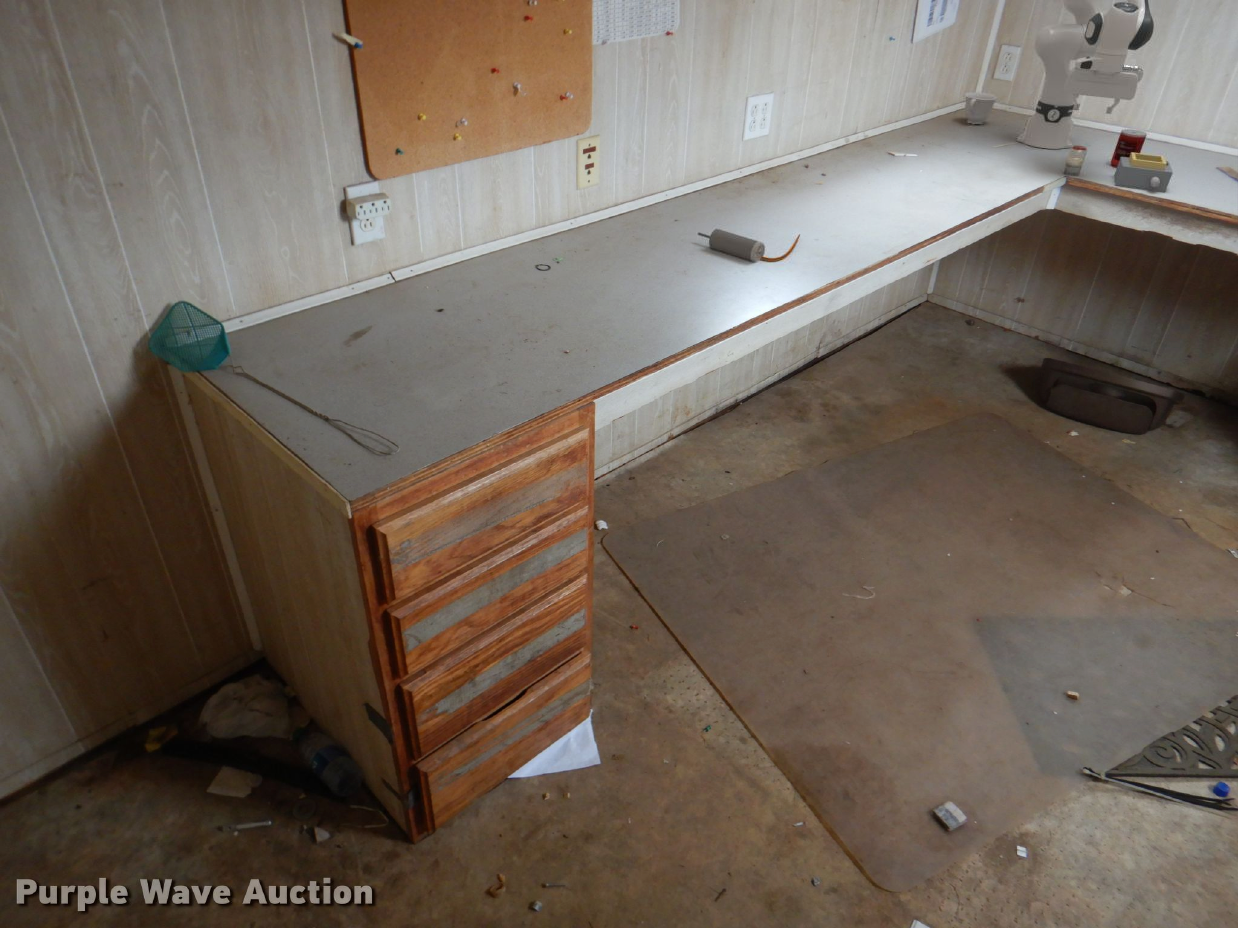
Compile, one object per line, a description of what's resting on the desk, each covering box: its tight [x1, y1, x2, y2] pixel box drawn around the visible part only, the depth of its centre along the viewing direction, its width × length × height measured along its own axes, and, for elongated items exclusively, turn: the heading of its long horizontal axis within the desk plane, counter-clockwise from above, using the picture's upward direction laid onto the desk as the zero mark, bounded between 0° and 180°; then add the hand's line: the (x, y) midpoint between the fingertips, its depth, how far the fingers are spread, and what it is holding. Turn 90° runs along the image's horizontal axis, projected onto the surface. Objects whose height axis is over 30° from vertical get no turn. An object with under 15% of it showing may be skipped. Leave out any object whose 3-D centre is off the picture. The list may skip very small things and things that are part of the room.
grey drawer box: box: [1113, 152, 1174, 193], centre depth 269 cm, size 15×14×8 cm
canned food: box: [1110, 128, 1147, 169], centre depth 286 cm, size 8×8×11 cm
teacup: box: [964, 92, 999, 125], centre depth 329 cm, size 12×15×10 cm
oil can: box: [1062, 145, 1088, 177], centre depth 277 cm, size 5×5×8 cm
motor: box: [697, 228, 801, 263], centre depth 219 cm, size 23×22×5 cm
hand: (1091, 111), depth 268 cm, fingers open, 8 cm apart
